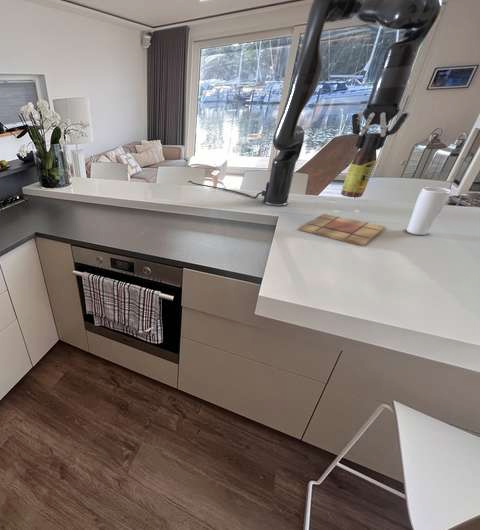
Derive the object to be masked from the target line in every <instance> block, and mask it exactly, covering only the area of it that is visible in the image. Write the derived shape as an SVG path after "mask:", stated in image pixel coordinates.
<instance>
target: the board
mask: <svg viewBox="0 0 480 530" xmlns="http://www.w3.org/2000/svg"><path fill="white" fill-rule="evenodd" d="M385 228H386V226H385V225H380V224H375V223H370V222H367V221H361V220H356V219H352V218H347V217H341V216H337V215H331V214H328V213H327V214H326V213H323V214H321V215H320V216H317V217H316V218H314V219H313V220H311V221H309V222H307V223H306V224H304V225H302V226H300V227H299V230H300V231H303V232H307V233H311V234H314V235H319V236H322V237H327V238H331V239H335V240H338V241H343V242H346V243H351V244H353V245H354V244H355V245H357V246H358V245H359V246H362V247H364V246H366V244H368V243H369V242H371V241H372V240H373V239H374V238H376V236H378V235H379V234H380V233H381V232H383V231H384V230H385Z"/></svg>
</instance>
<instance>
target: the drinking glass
mask: <svg viewBox="0 0 480 530" xmlns="http://www.w3.org/2000/svg"><path fill="white" fill-rule="evenodd" d="M451 193H452V190H451V189H449V188H445V187H439V186H438V187H437V186H425V187H423V188H421V190H420V192H419V194H418V197H417V198H416V202H415V205H414V208H413V211H412V214H411V217H410V220H409V222H408V225H407V228H406V231H407V232H408V233H410V234H412V235H415V236H416V235H417V236H425V235H427V234H428V233H429V231H430V230H431V227H432V226H433V224H434V223H435V221H436V220H437V219H438V216H439V215H440V213H441V212H442V211H443V209H444V207H445V206H446V204H447V202H448V200H449V198H450V196H451Z"/></svg>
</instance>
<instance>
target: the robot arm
mask: <svg viewBox="0 0 480 530" xmlns="http://www.w3.org/2000/svg"><path fill="white" fill-rule="evenodd" d="M442 6H443V0H312V3H311V6H310V9H309V13H308V15H307V16H308V18H307V21H306V26H305V31H304V34H303V35H304V36H303V41H302V45H301V47H300V52H299V57H298V60H297V63H296V66H295V68H294V69H295V70H294V73H293V75H292V79H291V81H290V86H289V90H288V94H287V97H286V100H285V102H284V106H283V110H282V113H281V116H280V117H279V121H278V123H277V126H276V128H275V131H274V134H273V136H272V145H273V148H274V149H275V150H276V151H279V152H278V153H277V154H276V156H274V158H273V159H272V163H271V168H270V173H269V178H268V181H267V182H266V185H265V189H263V190H261V192H260V191H259V192H258V193H257V194H256V195H255V196H251V195H249V194H247V193H244V192H241V191H237V190H233V189H232V190H231V189H229V190H228V188H223V187H217V186H212V185H209V184H208V185H207V184H202V183H197V182H194V181H192V180H188V181H187V184H188V183H190V184H191V185H192V184H193V185H195V186H196V185H197V186H202V187H206V188H211V189H217V190H222V189H223V190H222V191H227V192H231V193H235V194H239V195H242V196H245V197H248V198H251V199H257V198H258V196H259V195H260V196H261V197H263V201H262V202H263V203H264V204H265V205H268V206H274V207H283V206H286V205H288V201H289V199H290V197H289V196H290V192H291V188H292V182H293V177H294V172H295V168H296V165H297V161H298V160H299V158H300V156H301V152H302V148H303V146H304V145H303V144H304V141H305V130H304V128H303V127H302V126H301V125H298V123H299V119H300V116H301V114H302V113H303V110H304V109H305V108H306V106H307V105H308V103H309V102H310V101H311V99H312V98H313V96H314V94H315V92H316V90H317V88H318V85H319V83H320V79H321V77H322V74H323V70H324V58H323V53H322V52H323V51H322V46H321V45H322V43H321V42H322V36H323V31H324V27H325V24H332V23H337V22H342V21H349V20H353V21H357V22H359V23H361V24H365V25H369V26H377V27H382V28H384V29H387V30H393V31H403V30H404V32H403V35H402V36H401V38H400V39H399V40H398V41H395V42H392V43H391V44H389V45H388V46H387V47H386V49H385V51H384V54H383V57H382V61H381V64H380V66H379V70H378V72H377V74H376V76H375V79H374V82H373V84H372V89H371V92H370V95H369V98H368V101H367V104H366V107H365V109H364V110H363V111H361V112H356V113H353V114H352V115H351V124H352V125H351V126H352V134H354V135H357V136H358V138H357V140H356V144H355V147H356V148H357V149H358V150H360V149H361V148H362V145H363V142H364V139H365V134H366V133H368V131H369V130H370V129H371V127H372V126H373V125H378V126H379V128H380V133H381V136H380V137H379V139H378V142H377V145H376V147H375V150H376V151H379V150H380V149H382V148H383V147H384V146H385V143H386V140H387V138H388V136H392V135H394V134H396V133H397V132H398V131H399V130H400V128H401V127H402V126H403V125H404V123H405V122H406V120H408V118H409V117H410V115H411V112H409V111H407V112H405V111H402V110H401V109H400V104H401V102H402V100H403V97H404V94H405V91H406V88H407V86H408V82H409V81H410V78H411V75H412V69H413V65H414V63H415V60H416V57H417V55H418V53H419V50H420V47H421V45H422V44H423V42H424V41H425V39H426V38H427V36H428V34H429V33H430V31H431V30H432V28H433V26H434V24H435V23H436V21H437V19H438V17H439V16H440V13H441V11H442ZM396 116H397V117H396ZM363 117H364V120H365V122H364V124H363V125H362V127H361V120H362V119H363ZM395 117H396V120H397V121H396V122H395V123H394V125H393V126H392V127H391V129H390V130H389V128H390V121H391V120H393V118H395Z"/></svg>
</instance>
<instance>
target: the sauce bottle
mask: <svg viewBox="0 0 480 530" xmlns="http://www.w3.org/2000/svg"><path fill="white" fill-rule="evenodd" d="M380 136H381V132H367V133H366V134H365V139H364V142H363V145H362V148H361V149H358V150H357V151H356V152H355V154H354V155H353V158H352V161H351V163H350V164H349V168H348V171H347V173H346V176H345V180H344V182H343V185H342V188H341V191H340V195H341V196H343V197H347V198H361V197H362V196H363V195H364V193H365V191H366V189H367V186H368V183H369V180H370V178H371V175H372V173H373V171H374V168H375V165H376V163H377V150H375V147H376V145H377V142H378V139H379V137H380Z"/></svg>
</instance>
